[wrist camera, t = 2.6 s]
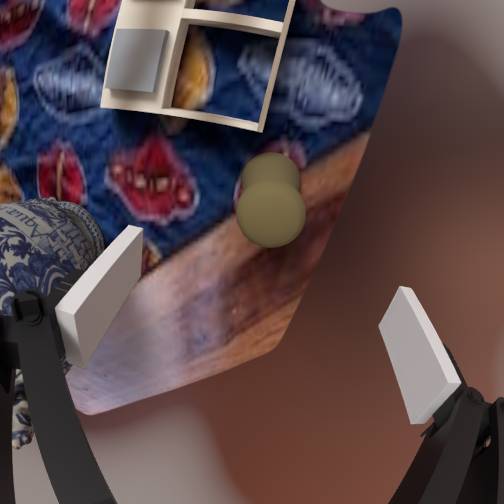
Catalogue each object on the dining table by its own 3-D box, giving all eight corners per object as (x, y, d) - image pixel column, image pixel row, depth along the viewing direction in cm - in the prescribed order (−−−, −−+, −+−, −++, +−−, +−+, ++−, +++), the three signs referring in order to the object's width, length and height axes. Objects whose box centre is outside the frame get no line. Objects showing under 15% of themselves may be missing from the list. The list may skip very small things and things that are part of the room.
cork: (287, 217, 34) (293, 270, 24) (233, 196, 33) (216, 243, 23) (310, 165, 31) (328, 199, 21) (253, 143, 30) (245, 167, 20)
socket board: (113, 105, 29) (95, 108, 25) (155, -58, 19) (142, -72, 16) (263, 129, 29) (262, 133, 26) (307, -44, 20) (311, -60, 17)
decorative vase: (147, 178, 32) (-50, 382, 8) (145, 311, 41) (62, 501, 17) (9, 162, 31) (-154, 270, 7) (26, 277, 40) (-77, 406, 16)
